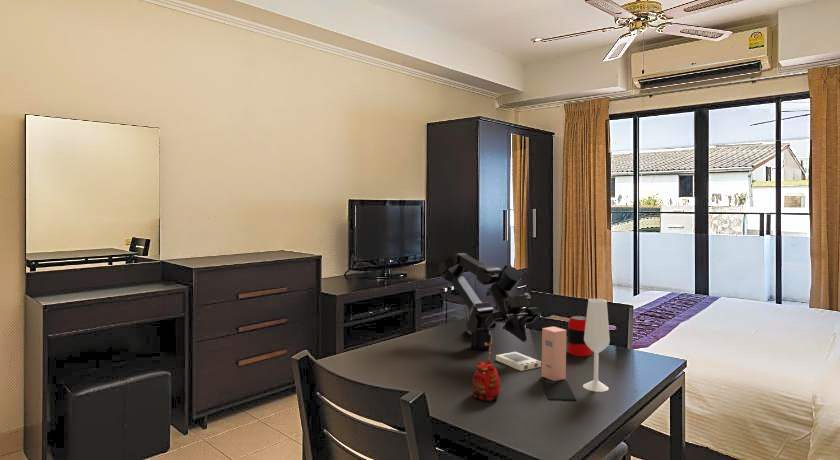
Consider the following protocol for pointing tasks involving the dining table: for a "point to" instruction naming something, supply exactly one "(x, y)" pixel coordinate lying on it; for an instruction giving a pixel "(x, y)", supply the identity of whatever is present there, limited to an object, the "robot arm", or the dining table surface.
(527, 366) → the pad
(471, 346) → the robot arm
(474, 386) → the red clay folk toy
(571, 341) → the soda can
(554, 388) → the smartphone
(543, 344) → the block
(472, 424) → the dining table surface
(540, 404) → the dining table surface
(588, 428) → the dining table surface
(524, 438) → the dining table surface
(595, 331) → the champagne flute
